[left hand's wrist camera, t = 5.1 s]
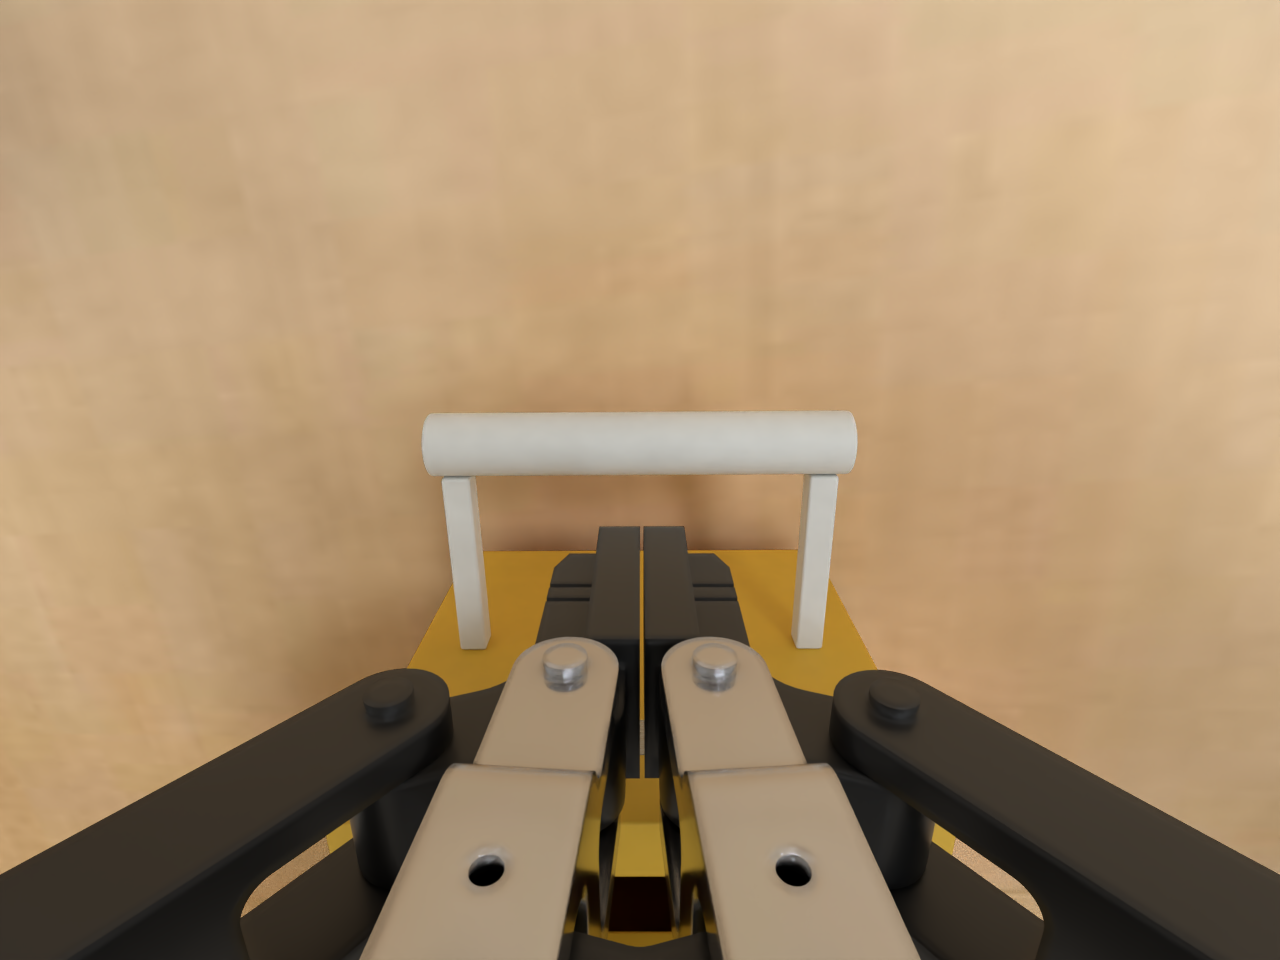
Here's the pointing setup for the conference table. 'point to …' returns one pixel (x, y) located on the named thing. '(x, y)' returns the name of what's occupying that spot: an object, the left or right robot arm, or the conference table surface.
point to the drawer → (519, 580)
